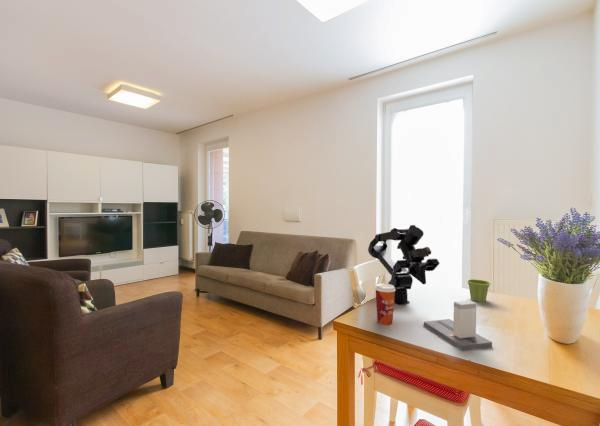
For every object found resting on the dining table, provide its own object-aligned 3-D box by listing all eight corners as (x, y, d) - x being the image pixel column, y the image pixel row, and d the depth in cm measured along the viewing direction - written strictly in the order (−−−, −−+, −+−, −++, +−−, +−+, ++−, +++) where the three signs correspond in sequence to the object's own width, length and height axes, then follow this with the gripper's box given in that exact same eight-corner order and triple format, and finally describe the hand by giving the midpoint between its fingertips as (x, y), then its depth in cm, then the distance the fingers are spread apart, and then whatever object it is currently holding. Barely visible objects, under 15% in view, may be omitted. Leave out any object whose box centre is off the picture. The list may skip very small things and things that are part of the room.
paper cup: (384, 327, 108) (384, 289, 107) (370, 320, 114) (370, 284, 114) (400, 323, 111) (400, 286, 111) (385, 316, 118) (385, 282, 117)
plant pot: (463, 296, 144) (464, 278, 143) (485, 297, 142) (485, 279, 142) (470, 302, 135) (471, 283, 134) (493, 304, 133) (494, 285, 132)
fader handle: (453, 334, 98) (453, 301, 98) (468, 332, 99) (469, 300, 99) (460, 338, 95) (460, 304, 95) (475, 336, 96) (476, 303, 96)
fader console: (423, 325, 109) (423, 321, 109) (449, 322, 112) (449, 318, 112) (462, 350, 91) (462, 345, 91) (491, 346, 93) (492, 341, 93)
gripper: (397, 240, 120) (412, 274, 110) (437, 239, 124) (455, 271, 114) (386, 256, 128) (400, 289, 118) (424, 254, 132) (441, 286, 122)
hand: (424, 283), depth 117 cm, fingers closed
